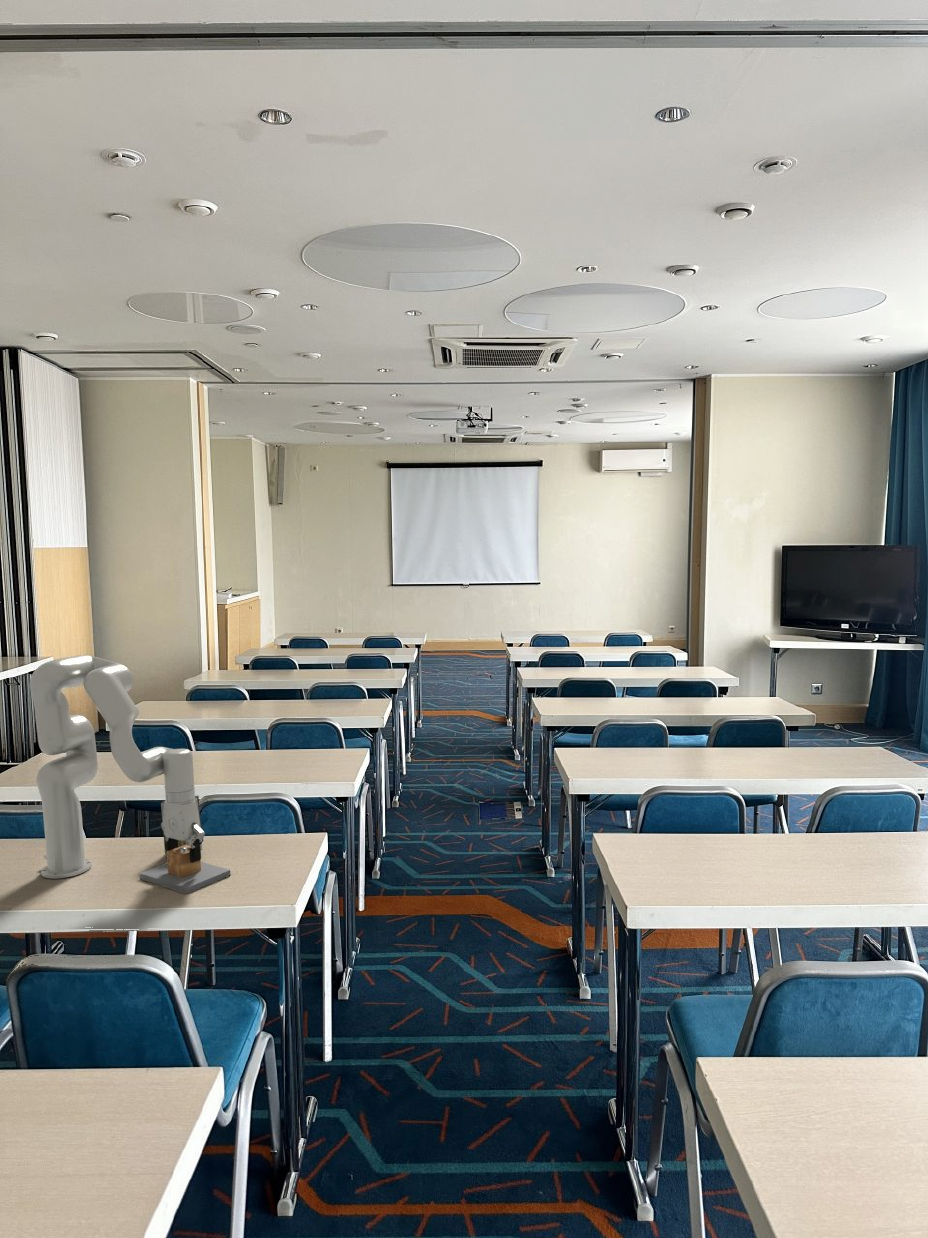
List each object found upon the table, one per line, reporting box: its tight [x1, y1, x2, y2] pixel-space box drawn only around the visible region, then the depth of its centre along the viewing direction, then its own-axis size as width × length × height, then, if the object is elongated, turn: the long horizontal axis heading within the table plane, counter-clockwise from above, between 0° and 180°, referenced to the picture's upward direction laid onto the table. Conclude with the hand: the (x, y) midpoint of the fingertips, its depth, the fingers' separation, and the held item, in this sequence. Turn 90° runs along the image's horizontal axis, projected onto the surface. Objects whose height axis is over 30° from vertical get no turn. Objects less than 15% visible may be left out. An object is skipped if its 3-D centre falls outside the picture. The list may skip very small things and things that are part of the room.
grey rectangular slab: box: [139, 861, 232, 894], centre depth 222 cm, size 20×14×2 cm
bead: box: [166, 845, 202, 877], centre depth 222 cm, size 6×6×6 cm
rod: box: [180, 847, 187, 853], centre depth 222 cm, size 2×2×6 cm
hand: (184, 858), depth 222 cm, fingers open, 9 cm apart
